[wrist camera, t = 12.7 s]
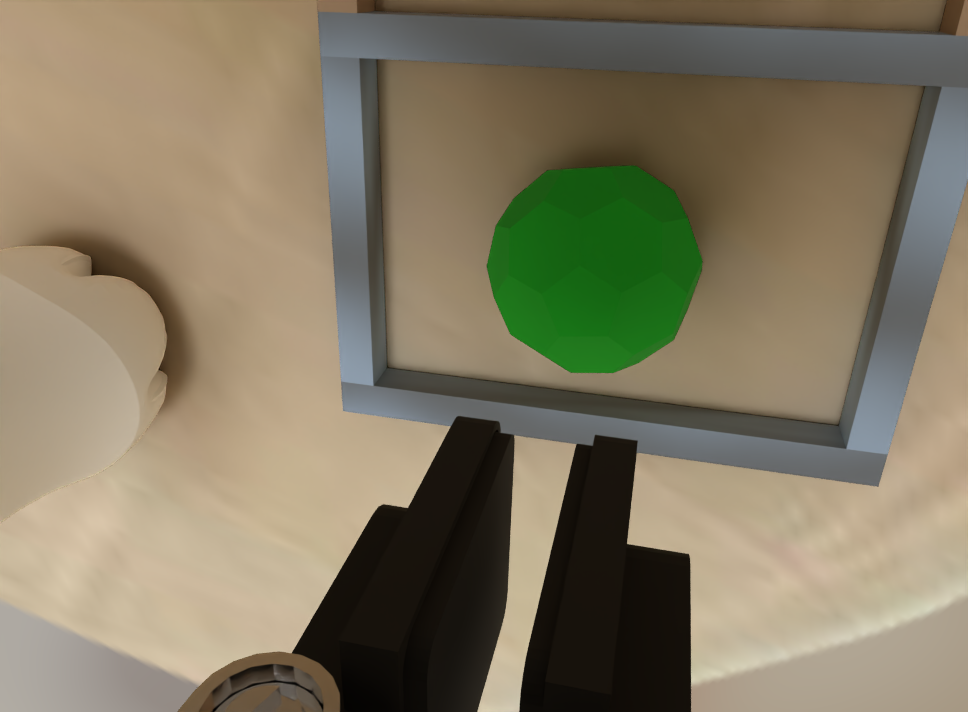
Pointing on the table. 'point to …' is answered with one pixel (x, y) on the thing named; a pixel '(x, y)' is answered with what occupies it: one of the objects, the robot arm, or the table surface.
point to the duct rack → (659, 49)
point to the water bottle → (71, 371)
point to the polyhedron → (594, 267)
